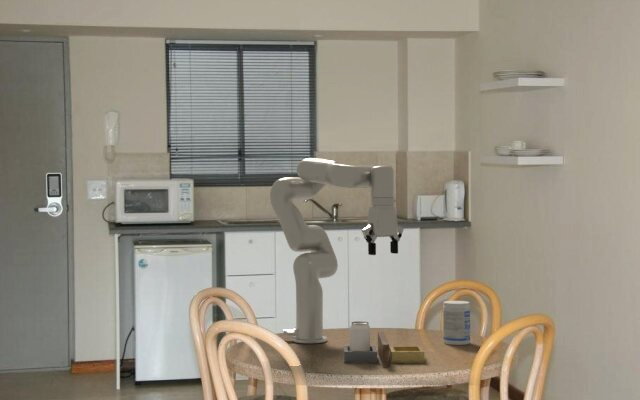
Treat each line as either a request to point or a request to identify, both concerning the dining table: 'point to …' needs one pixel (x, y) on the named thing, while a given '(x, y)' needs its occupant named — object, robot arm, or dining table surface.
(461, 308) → the supplement tub
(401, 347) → the brass keeper
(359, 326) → the can
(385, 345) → the brown wooden plank
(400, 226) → the robot arm
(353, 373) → the dining table surface
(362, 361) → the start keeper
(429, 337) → the dining table surface
